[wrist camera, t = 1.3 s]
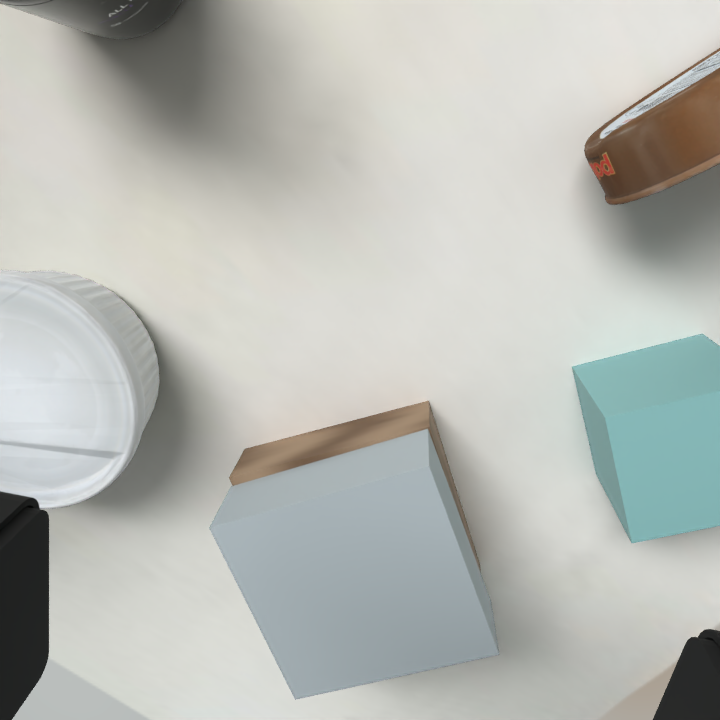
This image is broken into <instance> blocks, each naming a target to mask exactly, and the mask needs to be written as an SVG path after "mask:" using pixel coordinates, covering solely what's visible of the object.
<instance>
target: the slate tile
mask: <svg viewBox="0 0 720 720" xmlns="http://www.w3.org/2000/svg"><path fill="white" fill-rule="evenodd" d="M209 528H210V530H211V532H212V534H213V536H214V538H215V540H216V542H217V544H218V546H219V548H220V550H221V552H222V554H223V556H224V558H225V560H226V562H227V564H228V566H229V568H230V570H231V572H232V574H233V576H234V578H235V580H236V582H237V584H238V586H239V588H240V590H241V592H242V594H243V596H244V598H245V600H246V602H247V604H248V606H249V608H250V610H251V612H252V614H253V616H254V618H255V620H256V622H257V624H258V626H259V628H260V630H261V632H262V634H263V636H264V638H265V640H266V642H267V644H268V646H269V648H270V650H271V652H272V654H273V656H274V658H275V660H276V662H277V664H278V666H279V668H280V670H281V672H282V674H283V676H284V678H285V680H286V682H287V684H288V686H289V688H290V690H291V692H292V694H293V696H294V698H295V700H296V699H300V698H305V697H309V696H314V695H318V694H323V693H328V692H332V691H337V690H341V689H346V688H350V687H355V686H359V685H364V684H368V683H373V682H378V681H382V680H387V679H391V678H396V677H400V676H405V675H409V674H414V673H419V672H423V671H428V670H432V669H437V668H441V667H446V666H450V665H455V664H460V663H464V662H469V661H473V660H478V659H482V658H487V657H491V656H496V655H499V650H498V643H497V637H496V630H495V624H494V617H493V611H492V605H491V600H490V597H489V595H488V592H487V589H486V586H485V584H484V581H483V578H482V575H481V573H480V570H479V567H478V565H477V562H476V559H475V556H474V554H473V551H472V548H471V545H470V543H469V540H468V537H467V534H466V532H465V529H464V526H463V523H462V521H461V518H460V515H459V512H458V510H457V507H456V504H455V501H454V499H453V496H452V493H451V491H450V488H449V485H448V482H447V480H446V477H445V474H444V471H443V469H442V466H441V463H440V460H439V458H438V455H437V452H436V449H435V447H434V444H433V441H432V438H431V436H430V433H429V430H428V429H425V430H422V431H418V432H415V433H411V434H408V435H405V436H401V437H398V438H394V439H391V440H388V441H384V442H381V443H377V444H374V445H371V446H367V447H364V448H360V449H357V450H353V451H350V452H347V453H343V454H340V455H336V456H333V457H330V458H326V459H323V460H319V461H316V462H313V463H309V464H306V465H302V466H299V467H296V468H292V469H289V470H285V471H282V472H279V473H275V474H272V475H268V476H265V477H262V478H258V479H255V480H251V481H248V482H245V483H241V484H238V485H234V486H231V487H230V489H229V491H228V493H227V495H226V497H225V499H224V501H223V503H222V505H221V506H220V508H219V510H218V512H217V514H216V516H215V518H214V520H213V522H212V524H211V526H210V527H209Z"/></svg>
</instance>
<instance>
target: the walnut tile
mask: <svg viewBox="0 0 720 720" xmlns="http://www.w3.org/2000/svg"><path fill="white" fill-rule="evenodd" d="M425 429H428V430H429V433H430V436H431V438H432V441H433V444H434V447H435V449H436V452H437V455H438V458H439V460H440V463H441V466H442V469H443V471H444V474H445V477H446V480H447V482H448V485H449V488H450V491H451V493H452V496H453V499H454V501H455V504H456V507H457V510H458V512H459V515H460V518H461V521H462V523H463V526H464V529H465V532H466V534H467V537H468V540H469V543H470V545H471V548H472V551H473V554H474V556H475V559H476V562H477V565H478V567H479V570H480V564H479V561H478V557H477V554H476V551H475V548H474V545H473V541H472V538H471V535H470V532H469V529H468V525H467V522H466V519H465V516H464V513H463V509H462V506H461V503H460V500H459V497H458V493H457V490H456V487H455V484H454V481H453V477H452V474H451V471H450V468H449V465H448V461H447V458H446V455H445V452H444V449H443V445H442V442H441V439H440V436H439V433H438V429H437V426H436V423H435V420H434V417H433V413H432V410H431V407H430V404H429V401H426V402H422V403H418V404H414V405H411V406H407V407H403V408H399V409H395V410H392V411H388V412H384V413H380V414H376V415H373V416H369V417H365V418H361V419H357V420H353V421H350V422H346V423H342V424H338V425H334V426H331V427H327V428H323V429H319V430H315V431H312V432H308V433H304V434H300V435H296V436H293V437H289V438H285V439H281V440H277V441H273V442H270V443H266V444H262V445H258V446H254V447H251V448H247V449H245V450H244V452H243V453H242V455H241V457H240V459H239V461H238V462H237V464H236V466H235V468H234V470H233V472H232V473H231V475H230V477H229V478H230V481H231V483H232V485H233V486H234V485H238V484H241V483H245V482H248V481H251V480H255V479H258V478H262V477H265V476H268V475H272V474H275V473H279V472H282V471H285V470H289V469H292V468H296V467H299V466H302V465H306V464H309V463H313V462H316V461H319V460H323V459H326V458H330V457H333V456H336V455H340V454H343V453H347V452H350V451H353V450H357V449H360V448H364V447H367V446H371V445H374V444H377V443H381V442H384V441H388V440H391V439H394V438H398V437H401V436H405V435H408V434H411V433H415V432H418V431H422V430H425ZM480 573H481V570H480Z"/></svg>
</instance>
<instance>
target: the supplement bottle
mask: <svg viewBox="0 0 720 720" xmlns="http://www.w3.org/2000/svg"><path fill="white" fill-rule="evenodd" d="M181 1H182V0H0V4H3V5H6V6H9V7H12V8H15V9H18V10H21V11H24V12H27V13H30V14H33V15H36V16H39V17H42V18H45V19H48V20H51V21H54V22H57V23H59V24H62V25H65V26H68V27H71V28H74V29H77V30H80V31H83V32H86V33H90V34H93V35H96V36H100V37H105V38H112V39H130V38H135V37H139V36H142V35H145V34H147V33H149V32H152V31H153V30H155V29H157V28H158V27H160V26H161V25H162V24H163V23H165V22H166V21H167V20H168V19H169V18H170V17H171V16H172V15H173V13H174V12H175V11H176V9H177V8H178V6H179V5H180V3H181Z"/></svg>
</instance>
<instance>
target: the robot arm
mask: <svg viewBox="0 0 720 720" xmlns="http://www.w3.org/2000/svg"><path fill="white" fill-rule="evenodd" d="M48 654H49V516H48V513H47V512H46V511H44V510H40V508H39V503H38V501H37V500H36V499H35V498H32V497H27V496H22V495H17V494H11V493H6V492H1V491H0V720H12V719H13V717H14V716H15V714H16V713H17V711H18V710H19V708H20V707H21V706H22V704H23V703H24V701H25V700H26V698H27V697H28V695H29V694H30V692H31V691H32V690H33V688H34V687H35V685H36V684H37V682H38V681H39V679H40V677H41V675H42V674H43V671H44V669H45V666H46V663H47V660H48ZM653 720H720V631H717V630H712V629H707V630H704V631H703V632H701V633H700V635H699V636H698V638H697V637H691V638H690V639H689V640H688V641H687V642H686V644H685V646H684V649H683V651H682V653H681V656H680V658H679V660H678V662H677V665H676V667H675V670H674V672H673V674H672V677H671V679H670V681H669V684H668V686H667V688H666V690H665V693H664V695H663V697H662V700H661V702H660V704H659V707H658V709H657V711H656V714H655V716H654V718H653Z"/></svg>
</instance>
